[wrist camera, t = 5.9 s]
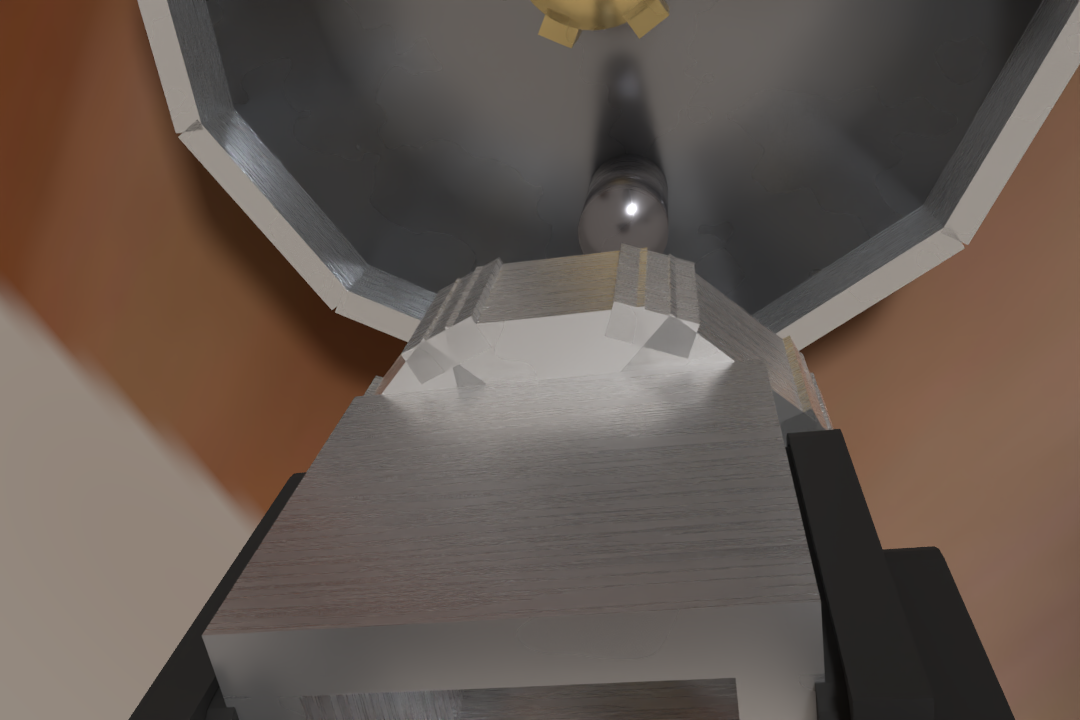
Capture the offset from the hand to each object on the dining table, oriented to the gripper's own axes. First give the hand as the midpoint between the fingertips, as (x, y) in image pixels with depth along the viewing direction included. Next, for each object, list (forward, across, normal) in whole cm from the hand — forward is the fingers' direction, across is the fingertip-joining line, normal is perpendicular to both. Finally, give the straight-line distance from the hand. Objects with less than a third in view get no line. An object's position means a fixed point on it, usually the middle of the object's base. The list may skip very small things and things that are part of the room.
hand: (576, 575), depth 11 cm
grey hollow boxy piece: (+3, 0, 0) cm, 3 cm away
